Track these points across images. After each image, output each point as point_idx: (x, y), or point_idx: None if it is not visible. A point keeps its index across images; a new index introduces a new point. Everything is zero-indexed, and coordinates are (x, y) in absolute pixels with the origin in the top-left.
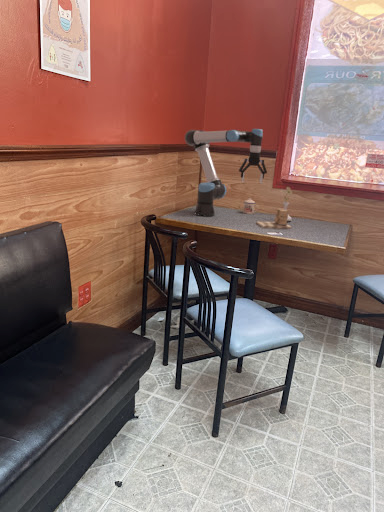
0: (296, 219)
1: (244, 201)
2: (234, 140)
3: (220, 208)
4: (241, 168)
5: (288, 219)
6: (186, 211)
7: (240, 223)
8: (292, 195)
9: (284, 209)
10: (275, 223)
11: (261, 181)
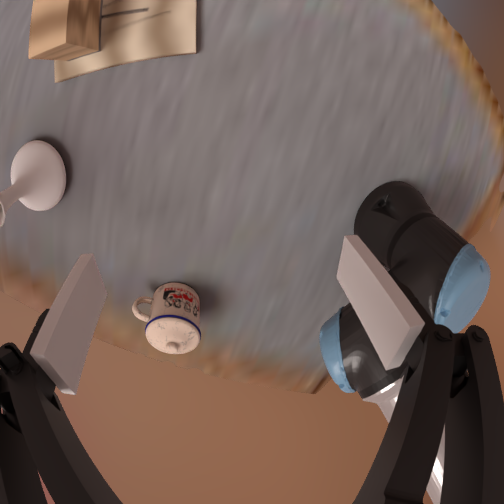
0: None
1: (199, 336)
2: None
3: (275, 345)
4: (492, 370)
5: (23, 146)
6: None
7: (288, 43)
8: None
9: (30, 39)
10: (103, 34)
11: (79, 269)
